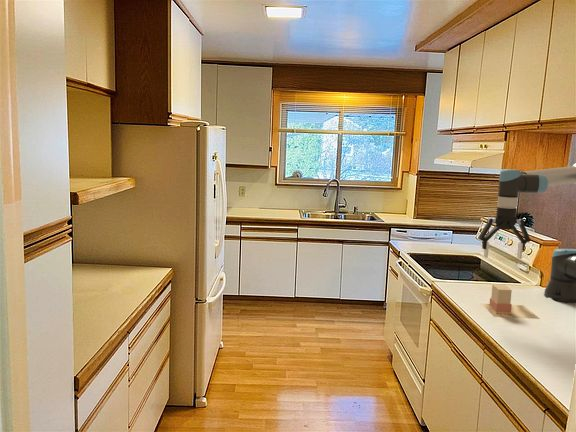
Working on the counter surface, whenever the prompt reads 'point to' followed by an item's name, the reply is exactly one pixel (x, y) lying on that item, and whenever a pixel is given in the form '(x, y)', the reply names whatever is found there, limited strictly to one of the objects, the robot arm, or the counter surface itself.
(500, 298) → the block
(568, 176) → the robot arm
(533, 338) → the counter surface
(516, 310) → the board
